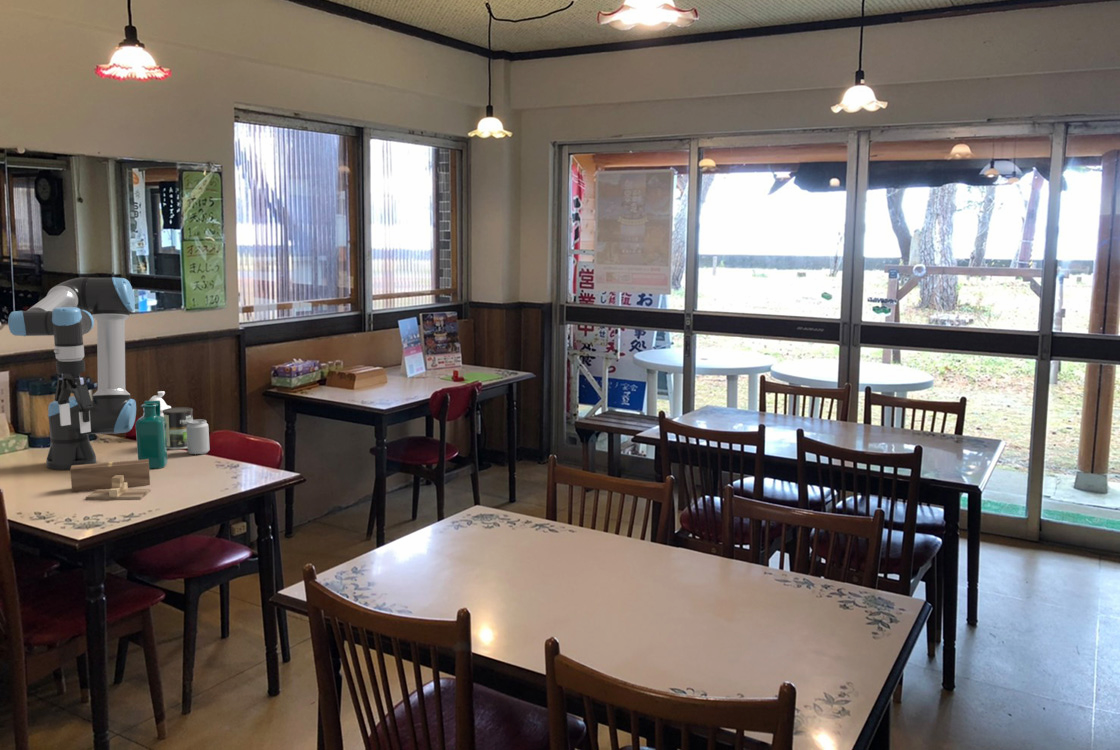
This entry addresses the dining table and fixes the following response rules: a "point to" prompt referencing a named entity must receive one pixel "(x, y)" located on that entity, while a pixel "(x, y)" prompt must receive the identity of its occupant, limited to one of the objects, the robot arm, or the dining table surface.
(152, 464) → the green bottle
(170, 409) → the coffee can
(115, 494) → the fulcrum
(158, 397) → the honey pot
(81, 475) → the beam
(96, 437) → the dining table surface
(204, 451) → the can
